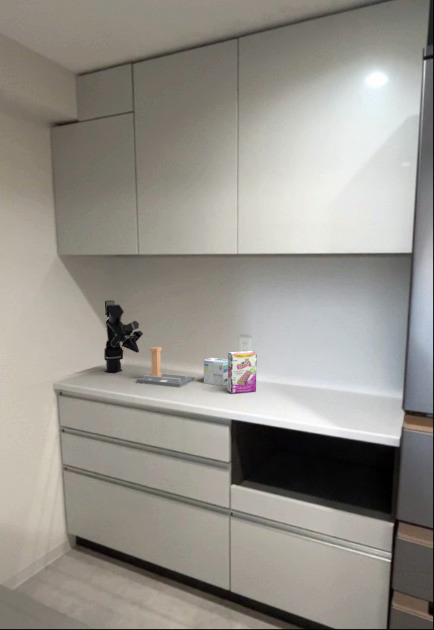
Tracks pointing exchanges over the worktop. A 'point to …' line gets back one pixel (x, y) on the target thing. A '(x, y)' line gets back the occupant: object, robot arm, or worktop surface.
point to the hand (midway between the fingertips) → (138, 351)
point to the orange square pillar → (156, 361)
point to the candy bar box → (242, 372)
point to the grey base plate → (166, 380)
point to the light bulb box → (216, 371)
